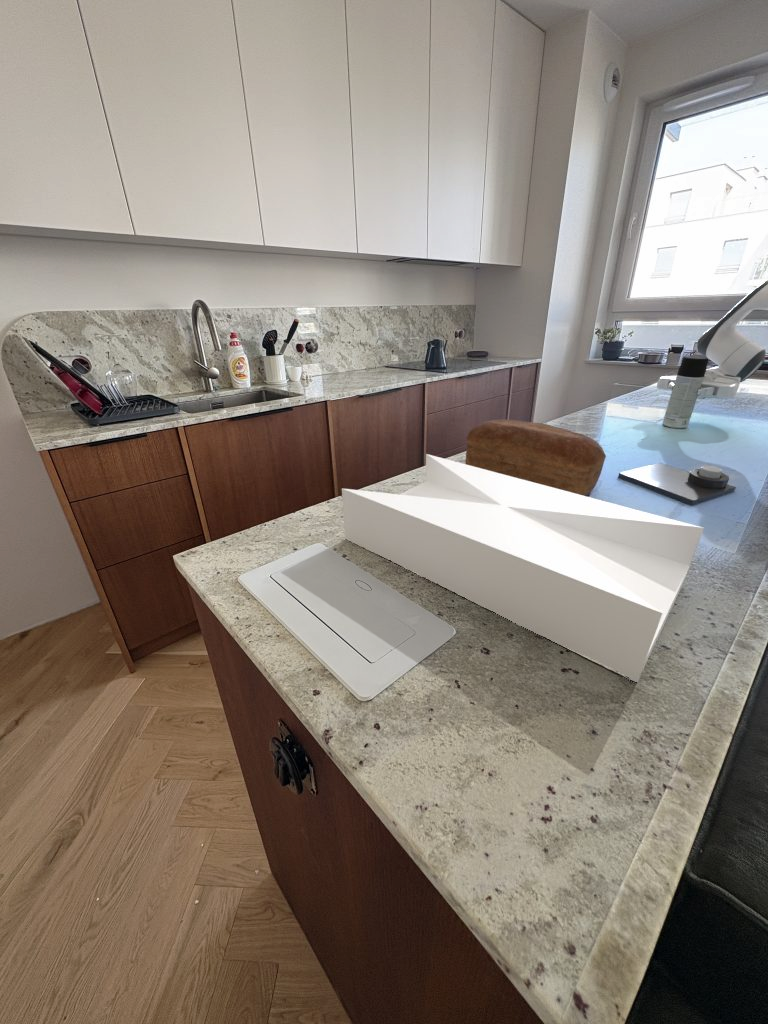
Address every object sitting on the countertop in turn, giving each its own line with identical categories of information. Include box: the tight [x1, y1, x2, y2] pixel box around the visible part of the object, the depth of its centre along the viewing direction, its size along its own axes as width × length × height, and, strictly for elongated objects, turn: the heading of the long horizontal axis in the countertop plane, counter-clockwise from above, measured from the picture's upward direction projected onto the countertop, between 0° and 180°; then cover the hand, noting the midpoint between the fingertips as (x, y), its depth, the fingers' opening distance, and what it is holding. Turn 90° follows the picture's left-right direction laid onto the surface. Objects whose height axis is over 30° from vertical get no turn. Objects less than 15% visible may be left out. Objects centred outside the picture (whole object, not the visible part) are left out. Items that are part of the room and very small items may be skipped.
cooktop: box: [617, 462, 737, 507], centre depth 89 cm, size 16×14×3 cm
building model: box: [341, 453, 705, 683], centre depth 63 cm, size 45×22×10 cm, turn 47°
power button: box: [699, 465, 723, 479], centre depth 86 cm, size 4×4×2 cm
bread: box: [465, 418, 607, 496], centre depth 90 cm, size 14×28×12 cm, turn 46°
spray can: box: [662, 355, 710, 429], centre depth 124 cm, size 7×7×20 cm
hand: (684, 389), depth 123 cm, fingers closed on spray can, 7 cm apart
